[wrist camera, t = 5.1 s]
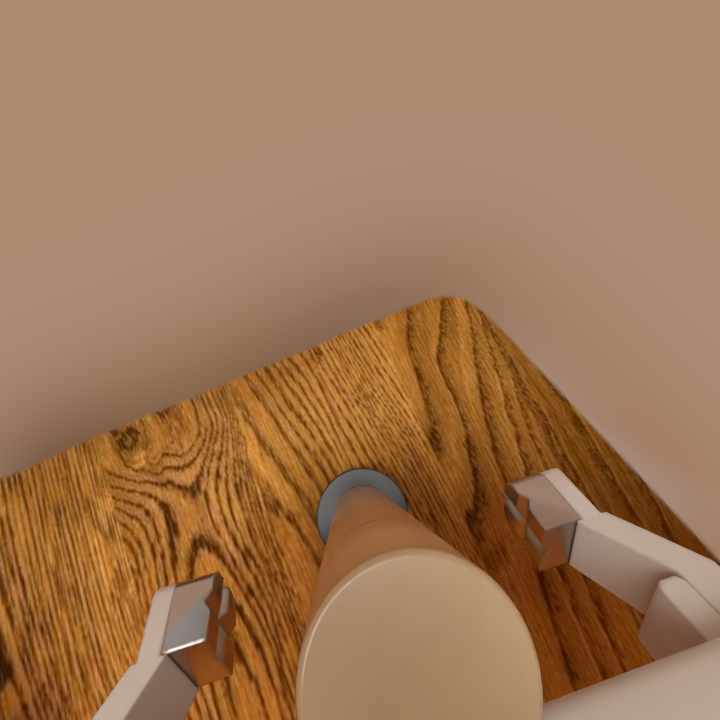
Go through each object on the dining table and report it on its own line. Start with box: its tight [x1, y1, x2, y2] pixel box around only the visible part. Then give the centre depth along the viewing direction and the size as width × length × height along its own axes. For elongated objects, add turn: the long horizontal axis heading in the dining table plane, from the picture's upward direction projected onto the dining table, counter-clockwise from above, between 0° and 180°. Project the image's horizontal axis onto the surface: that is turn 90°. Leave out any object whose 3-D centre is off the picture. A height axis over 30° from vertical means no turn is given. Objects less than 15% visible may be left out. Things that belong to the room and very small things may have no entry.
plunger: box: [295, 468, 543, 720], centre depth 12 cm, size 4×4×16 cm
